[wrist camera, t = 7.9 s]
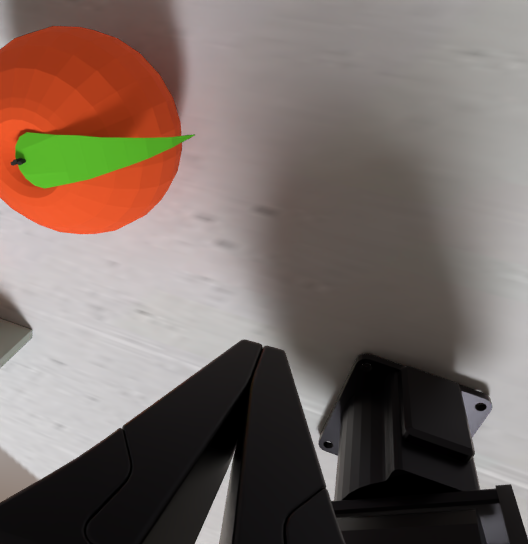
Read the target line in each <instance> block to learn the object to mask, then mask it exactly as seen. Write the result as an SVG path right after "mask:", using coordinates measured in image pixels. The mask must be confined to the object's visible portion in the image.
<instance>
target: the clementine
mask: <svg viewBox="0 0 528 544" xmlns="http://www.w3.org/2000/svg"><path fill="white" fill-rule="evenodd" d="M194 135H195V134H194ZM194 135H185V136H181V123H180V120H179V116H178V113H177V110H176V106H175V103H174V100H173V97H172V95H171V94H170V92H169V90H168V88H167V87H166V85H165V83H164V81H163V80H162V78H161V76H160V75H159V73H158V72H157V71H156V70H155V69H154V68H153V67H152V66H151V65H150V64H149V63H148V61H147V60H146V59H145V58H144V57H143V56H142V55H141V54H140V53H139V52H137V51H136V50H134V49H133V48H131V47H130V46H128V45H127V44H125V43H124V42H122V41H121V40H119V39H118V38H115V37H112V36H109V35H106V34H103V33H101V32H98V31H95V30H91V29H86V28H82V27H66V26H52V27H48V28H45V29H42V30H39V31H36V32H32V33H29V34H26V35H23V36H20V37H17V38H14V39H13V40H12V41H10V42H9V43H8V44H7V45H5V46H4V47H3V48H1V49H0V198H1V199H2V200H3V201H4V202H5V203H7V204H8V205H9V206H10V207H11V208H12V209H14V210H15V211H17V212H18V213H20V214H22V215H23V216H25V217H26V218H28V219H30V220H32V221H34V222H35V223H37V224H39V225H42V226H45V227H47V228H50V229H53V230H56V231H59V232H65V233H75V234H97V233H103V232H109V231H115V230H117V229H119V228H121V227H123V226H125V225H127V224H129V223H131V222H133V221H135V220H137V219H139V218H141V217H143V216H145V215H146V214H147V213H148V212H149V211H150V210H151V209H152V208H153V207H154V206H155V205H156V204H157V203H158V202H159V201H160V200H161V199H162V198H163V196H164V195H165V193H166V192H167V190H168V188H169V186H170V184H171V183H172V181H173V179H174V177H175V175H176V173H177V171H178V166H179V161H180V156H181V151H182V142H183V141H185V140H187V139H189V138H191V137H192V136H194Z"/></svg>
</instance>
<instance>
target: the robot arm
mask: <svg viewBox="0 0 528 544" xmlns="http://www.w3.org/2000/svg"><path fill="white" fill-rule="evenodd" d="M364 363H369V364H370V366H368V367H367V366H363V365H362V364H364ZM477 403H484V404H482V405H476V404H477ZM491 410H492V403H491V400H490V397H489V396H488V395H486V394H484V393H482V392H479V391H476V390H473V389H470V388H467V387H464V386H461V385H458V383H456V382H453V381H450V380H447V379H444V378H441V377H438V376H435V375H432V374H429V373H426V372H424V371H421V370H418V369H415V368H412V367H409V366H403V365H400V364H397V363H394V362H392V361H389V360H386V359H383V358H380V357H377V356H374V355H371V354H361V355H359V356H358V357H357V359H356V361H355V363H354V365H353V367H352V369H351V371H350V373H349V375H348V377H347V380H346V382H345V384H344V386H343V388H342V390H341V392H340V394H339V396H338V399H337V401H336V403H335V405H334V407H333V409H332V411H331V413H330V415H329V418H328V420H327V422H326V424H325V426H324V428H323V430H322V432H321V434H320V438H319V447H320V448H321V449H322V450H324V451H326V452H329V453H332V454H335V455H338V463H337V474H336V486H335V497H334V501H331V500H330V497H329V493H328V490H327V489H326V484H325V481H324V478H323V474H322V471H321V468H320V464H319V461H318V458H317V455H316V451H315V448H314V445H313V442H312V438H311V435H310V432H309V428H308V425H307V422H306V419H305V415H304V412H303V409H302V405H301V402H300V399H299V396H298V392H297V389H296V386H295V383H294V379H293V376H292V373H291V369H290V366H289V363H288V360H287V356H286V353H285V351H284V350H281V349H278V348H274V347H270V346H264V347H262V345H261V344H259V343H256V342H252V341H249V340H241V341H239V342H238V343H237V344H235V345H234V346H233V347H231V348H230V349H228V350H227V351H226V352H224V353H223V354H221V355H220V356H219V357H217V358H216V359H215V360H213V361H212V362H210V363H209V364H208V365H206V366H205V367H204V368H202V369H201V370H199V371H198V372H197V373H195V374H194V375H193V376H191V377H190V378H188V379H187V380H186V381H184V382H183V383H181V384H180V385H179V386H177V387H176V388H175V389H173V390H172V391H170V392H169V393H168V394H166V395H165V396H164V397H162V398H161V399H159V400H158V401H157V402H155V403H154V404H153V405H151V406H150V407H148V408H147V409H146V410H144V411H143V412H141V413H140V414H139V415H137V416H136V417H135V418H133V419H132V420H130V421H129V422H128V423H126V424H125V425H124V426H123V427H122V428H119V429H118V430H116V431H115V432H114V433H112V434H111V435H109V436H108V437H107V438H105V439H104V440H102V441H101V442H100V443H98V444H97V445H95V446H94V447H92V448H91V449H89V450H88V451H86V452H85V453H83V454H82V455H80V456H79V457H77V458H76V459H74V460H72V461H71V462H69V463H67V464H66V465H64V466H63V467H61V468H59V469H58V470H56V471H54V472H53V473H51V474H49V475H48V476H46V477H44V478H42V479H41V480H39V481H37V482H35V483H34V484H32V485H30V486H28V487H27V488H25V489H23V490H21V491H20V492H18V493H16V494H14V495H13V496H11V497H9V498H8V499H6V500H4V501H2V502H1V503H0V544H195V542H196V540H197V537H198V535H199V533H200V530H201V528H202V526H203V524H204V521H205V519H206V517H207V515H208V512H209V510H210V508H211V506H212V503H213V501H214V499H215V497H216V494H217V492H218V490H219V487H220V485H221V483H222V481H223V478H224V476H225V474H226V472H227V469H228V467H229V464H230V462H231V460H232V457H233V454H234V457H233V463H232V468H231V473H230V480H229V486H228V492H227V498H226V504H225V510H224V516H223V523H222V529H221V535H220V541H219V544H528V538H527V535H526V532H525V528H524V525H523V522H522V519H521V515H520V512H519V509H518V506H517V502H516V499H515V496H514V493H513V489H512V486H511V485H498V486H496V489H483V490H480V486H479V482H478V477H477V472H476V468H475V463H474V458H473V456H474V455H475V451H474V446H473V442H472V437H473V436H474V434H475V433H476V431H477V430H478V428H479V427H480V426H481V424H482V423H483V421H484V420H485V419H486V417H487V416H488V414H489V413H490V412H491ZM326 441H330V442H331V443H329V442H326ZM234 451H235V453H234Z"/></svg>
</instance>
